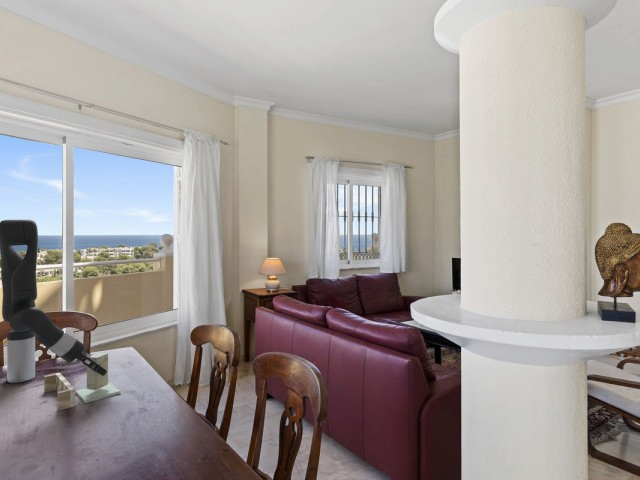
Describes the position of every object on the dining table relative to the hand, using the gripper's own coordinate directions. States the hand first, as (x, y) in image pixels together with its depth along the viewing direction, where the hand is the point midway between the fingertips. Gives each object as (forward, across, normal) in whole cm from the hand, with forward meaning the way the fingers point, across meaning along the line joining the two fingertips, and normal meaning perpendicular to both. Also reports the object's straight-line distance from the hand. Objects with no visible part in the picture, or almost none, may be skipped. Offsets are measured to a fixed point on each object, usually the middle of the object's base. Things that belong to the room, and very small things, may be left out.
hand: (102, 371), depth 149 cm
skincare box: (+3, 0, +5) cm, 6 cm away
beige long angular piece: (-3, +5, +15) cm, 16 cm away
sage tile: (+5, 0, +7) cm, 8 cm away
